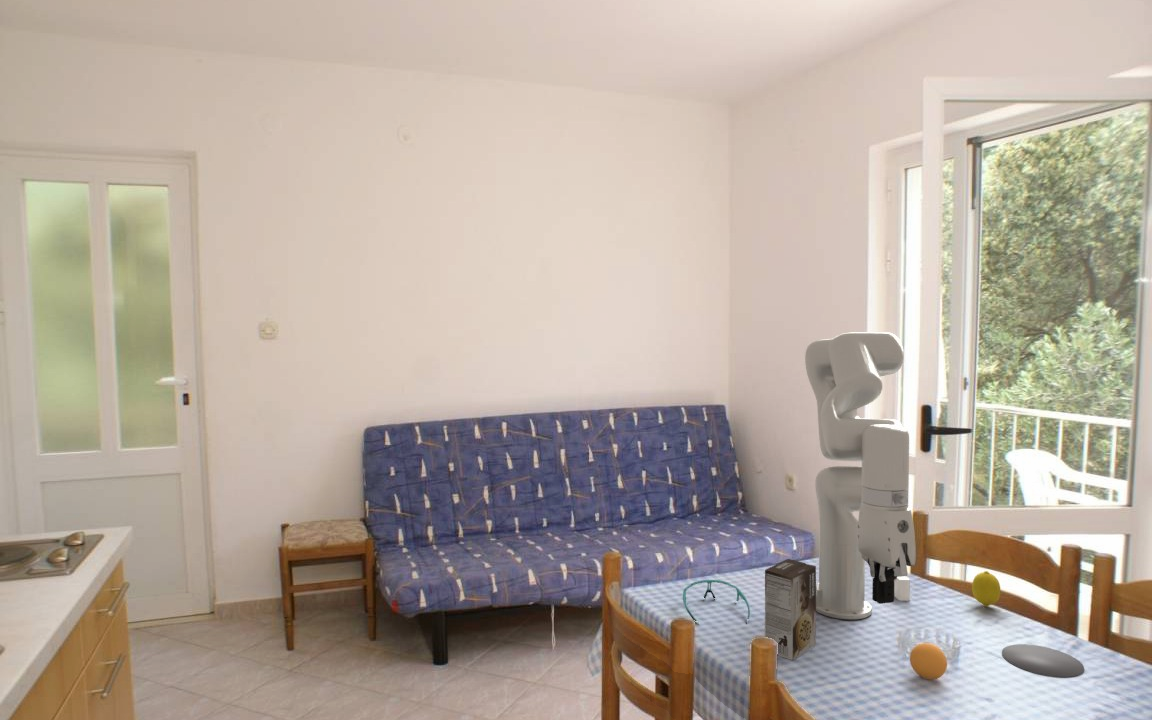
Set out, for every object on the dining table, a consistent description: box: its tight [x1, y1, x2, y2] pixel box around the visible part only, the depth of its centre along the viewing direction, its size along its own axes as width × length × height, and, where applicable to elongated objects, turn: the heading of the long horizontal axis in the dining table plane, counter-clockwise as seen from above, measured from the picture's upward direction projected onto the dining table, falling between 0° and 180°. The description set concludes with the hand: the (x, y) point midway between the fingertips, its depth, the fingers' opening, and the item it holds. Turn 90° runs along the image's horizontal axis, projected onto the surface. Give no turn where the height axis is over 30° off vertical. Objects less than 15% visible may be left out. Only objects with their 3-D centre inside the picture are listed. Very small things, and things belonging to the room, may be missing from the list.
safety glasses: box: [682, 579, 751, 622], centre depth 163 cm, size 14×15×5 cm
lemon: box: [971, 570, 1001, 608], centre depth 164 cm, size 6×6×8 cm
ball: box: [909, 642, 948, 680], centre depth 132 cm, size 6×6×6 cm
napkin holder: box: [889, 568, 911, 602], centre depth 175 cm, size 15×11×6 cm
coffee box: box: [764, 558, 817, 661], centre depth 144 cm, size 9×6×16 cm
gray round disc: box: [1001, 643, 1085, 678], centre depth 139 cm, size 13×13×1 cm
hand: (883, 601), depth 129 cm, fingers closed
